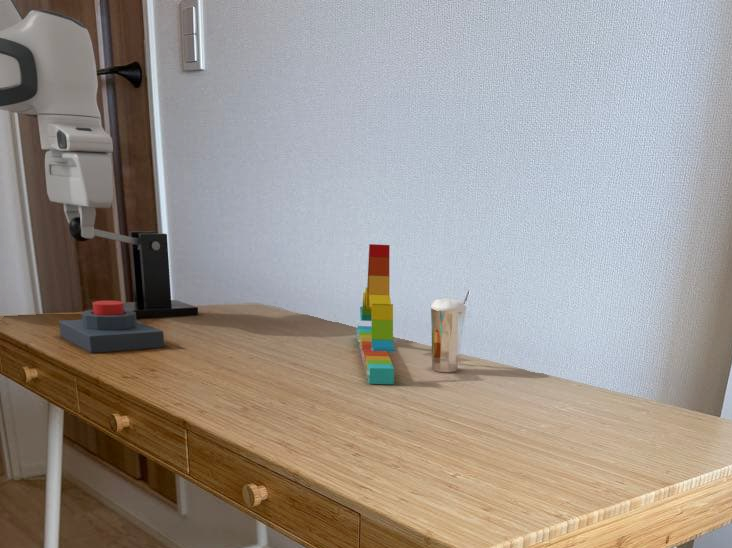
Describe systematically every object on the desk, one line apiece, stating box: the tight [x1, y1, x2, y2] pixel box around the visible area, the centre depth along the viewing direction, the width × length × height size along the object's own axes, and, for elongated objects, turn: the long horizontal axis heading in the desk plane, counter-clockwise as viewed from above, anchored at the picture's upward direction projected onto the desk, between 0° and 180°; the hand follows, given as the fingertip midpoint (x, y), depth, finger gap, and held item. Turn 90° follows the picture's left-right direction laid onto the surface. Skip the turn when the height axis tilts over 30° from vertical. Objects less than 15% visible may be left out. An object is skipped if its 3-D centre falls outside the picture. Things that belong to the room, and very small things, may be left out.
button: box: [92, 300, 124, 315], centre depth 114 cm, size 4×4×2 cm
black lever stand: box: [123, 231, 199, 320], centre depth 138 cm, size 12×9×13 cm
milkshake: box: [430, 290, 471, 373], centre depth 107 cm, size 4×5×10 cm
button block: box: [58, 309, 165, 354], centre depth 115 cm, size 13×10×4 cm
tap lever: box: [67, 217, 140, 250], centre depth 132 cm, size 14×4×4 cm, turn 127°
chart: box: [355, 243, 396, 385], centre depth 111 cm, size 30×3×15 cm, turn 6°
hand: (82, 236), depth 130 cm, fingers closed on tap lever, 3 cm apart
